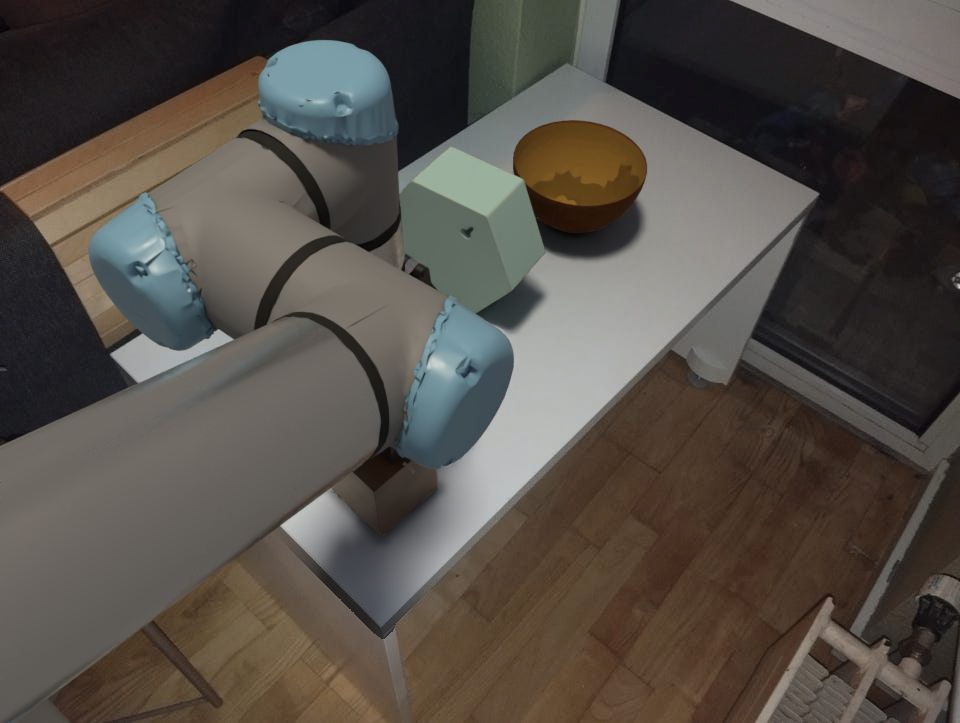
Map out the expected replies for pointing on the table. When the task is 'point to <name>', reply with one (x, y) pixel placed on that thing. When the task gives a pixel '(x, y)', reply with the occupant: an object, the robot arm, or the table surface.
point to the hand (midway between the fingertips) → (375, 422)
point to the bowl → (579, 174)
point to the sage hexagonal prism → (470, 228)
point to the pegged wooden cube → (386, 490)
